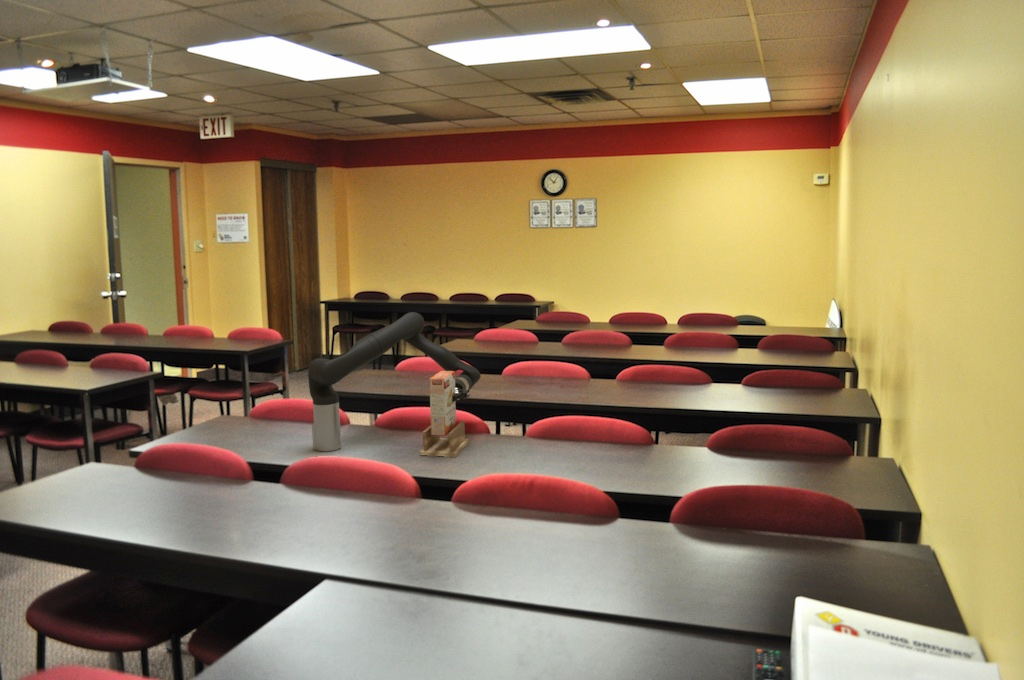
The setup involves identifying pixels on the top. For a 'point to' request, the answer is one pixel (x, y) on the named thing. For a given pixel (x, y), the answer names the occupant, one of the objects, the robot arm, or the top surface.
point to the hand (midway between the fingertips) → (444, 398)
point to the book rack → (444, 442)
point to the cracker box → (442, 403)
